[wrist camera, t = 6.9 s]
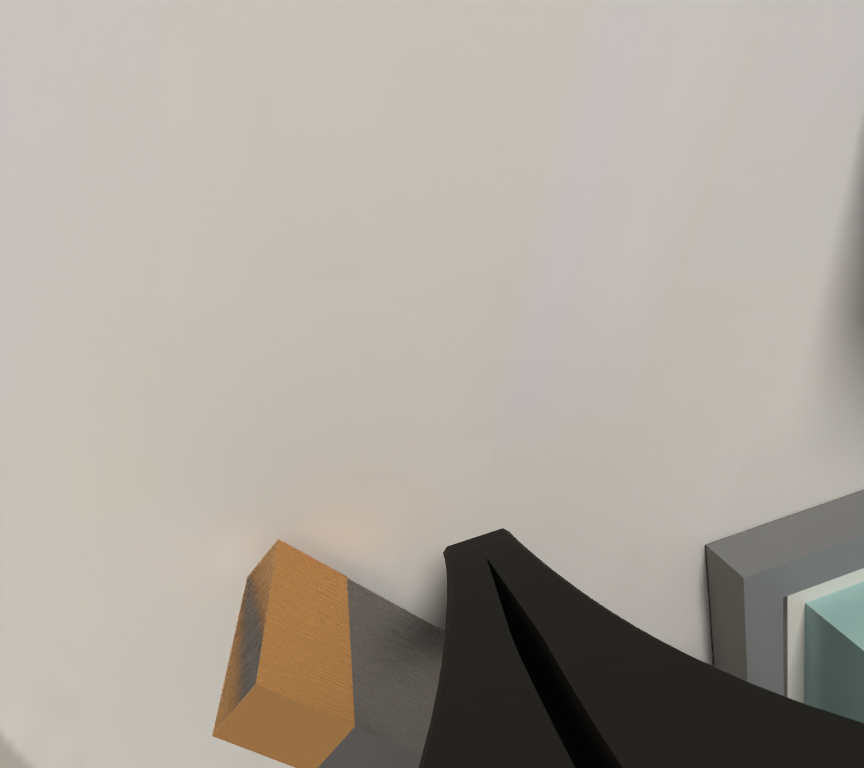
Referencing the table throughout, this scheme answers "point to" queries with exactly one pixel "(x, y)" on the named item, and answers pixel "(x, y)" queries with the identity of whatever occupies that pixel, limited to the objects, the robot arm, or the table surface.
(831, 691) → the plug
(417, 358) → the table surface
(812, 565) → the dock
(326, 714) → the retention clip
